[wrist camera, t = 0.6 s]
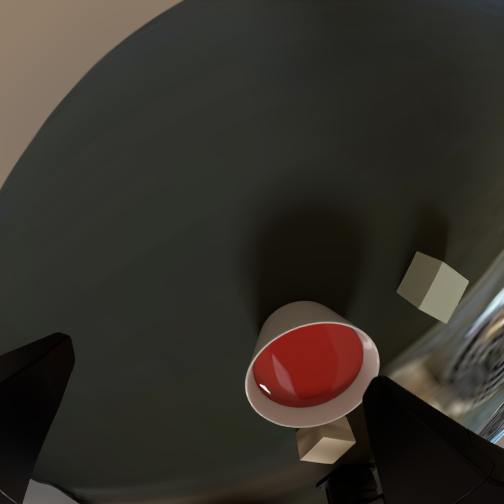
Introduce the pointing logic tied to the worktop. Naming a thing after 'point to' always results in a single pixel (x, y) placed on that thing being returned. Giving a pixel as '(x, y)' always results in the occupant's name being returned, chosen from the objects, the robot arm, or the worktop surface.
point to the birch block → (325, 441)
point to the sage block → (432, 286)
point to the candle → (309, 366)
